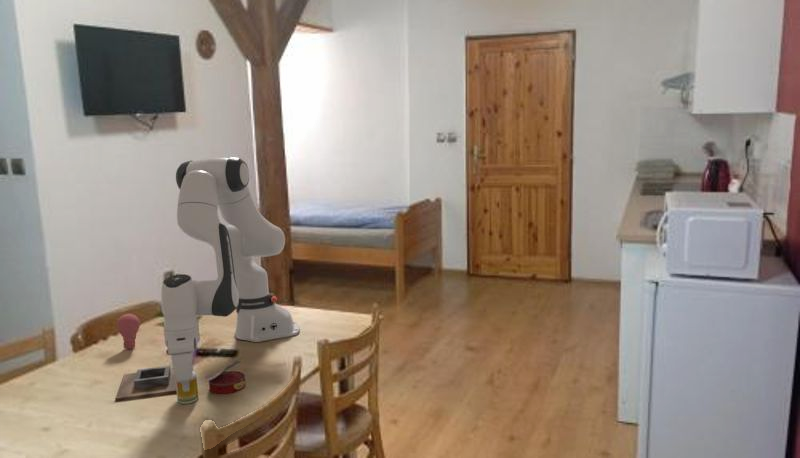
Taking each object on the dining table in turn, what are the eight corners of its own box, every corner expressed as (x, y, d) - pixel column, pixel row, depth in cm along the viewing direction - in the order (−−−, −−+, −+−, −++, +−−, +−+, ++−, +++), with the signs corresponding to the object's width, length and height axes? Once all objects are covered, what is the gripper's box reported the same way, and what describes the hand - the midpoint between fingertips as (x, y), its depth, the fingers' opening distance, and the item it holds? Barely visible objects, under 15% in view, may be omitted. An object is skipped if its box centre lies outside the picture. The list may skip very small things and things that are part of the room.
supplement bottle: (200, 400, 175) (197, 366, 174) (180, 406, 173) (177, 371, 171) (195, 394, 180) (192, 360, 178) (175, 399, 177) (172, 365, 175)
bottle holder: (187, 368, 199) (186, 358, 198) (185, 391, 182) (184, 380, 181) (124, 376, 194) (122, 366, 193) (115, 401, 177) (114, 389, 176)
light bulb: (146, 345, 222) (142, 311, 220) (135, 352, 215) (131, 317, 213) (126, 345, 222) (122, 311, 220) (115, 352, 215) (111, 317, 213)
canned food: (222, 411, 180) (203, 386, 175) (214, 394, 188) (196, 370, 184) (257, 386, 183) (239, 360, 178) (248, 370, 191) (230, 346, 187)
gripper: (172, 326, 182) (176, 373, 185) (167, 350, 163) (172, 402, 165) (195, 323, 184) (199, 370, 186) (193, 347, 165) (198, 398, 167)
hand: (186, 385), depth 176 cm, fingers closed on supplement bottle, 5 cm apart
